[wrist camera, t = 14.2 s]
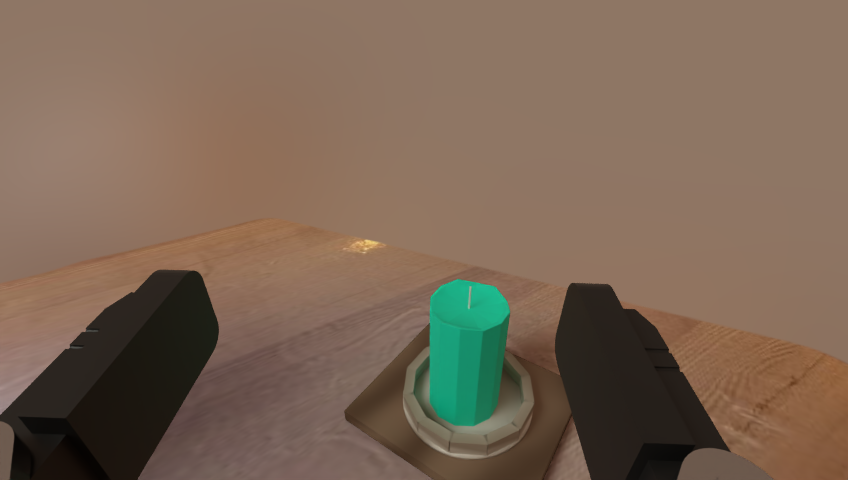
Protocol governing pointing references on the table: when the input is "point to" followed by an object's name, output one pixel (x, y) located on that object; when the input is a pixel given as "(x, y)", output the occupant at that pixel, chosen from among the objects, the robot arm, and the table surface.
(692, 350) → the table surface
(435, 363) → the candle
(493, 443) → the holder
